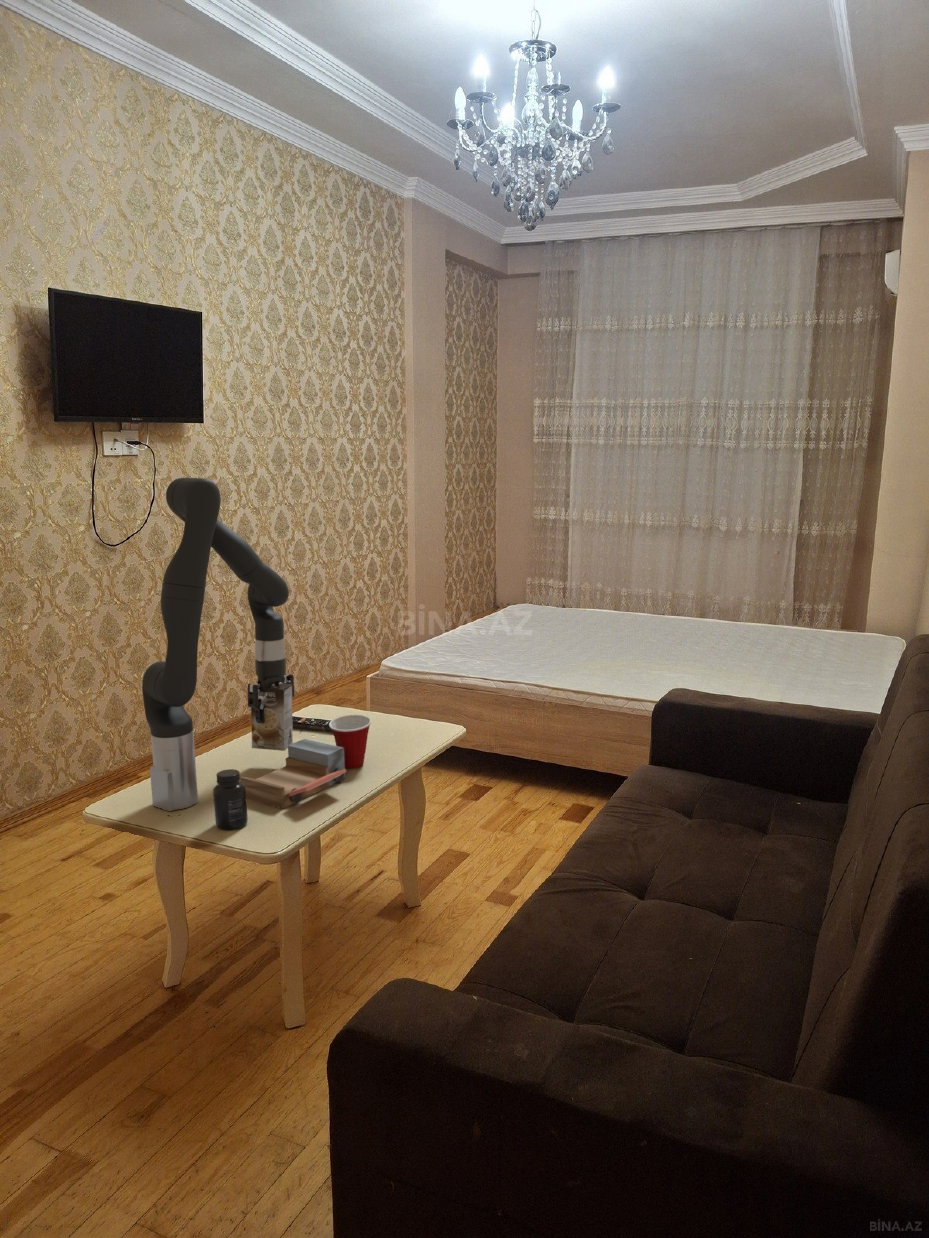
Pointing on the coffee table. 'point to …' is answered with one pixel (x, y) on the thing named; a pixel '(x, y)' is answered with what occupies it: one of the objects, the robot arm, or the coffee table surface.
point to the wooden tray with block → (297, 774)
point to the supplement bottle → (230, 801)
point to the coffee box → (274, 720)
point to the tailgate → (317, 782)
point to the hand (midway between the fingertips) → (272, 718)
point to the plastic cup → (351, 738)
